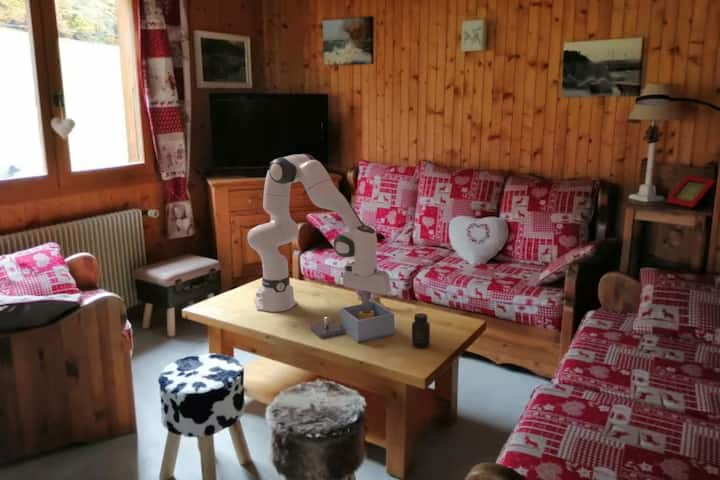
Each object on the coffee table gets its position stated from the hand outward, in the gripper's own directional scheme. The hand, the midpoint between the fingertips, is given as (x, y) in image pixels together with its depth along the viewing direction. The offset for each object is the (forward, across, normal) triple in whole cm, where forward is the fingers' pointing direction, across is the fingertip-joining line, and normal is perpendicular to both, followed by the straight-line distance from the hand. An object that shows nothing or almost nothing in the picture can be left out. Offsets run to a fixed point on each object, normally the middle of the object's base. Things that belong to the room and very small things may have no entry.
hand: (366, 301), depth 232 cm
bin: (+13, 0, 0) cm, 13 cm away
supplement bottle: (+13, -24, 0) cm, 28 cm away
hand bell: (+13, +12, -25) cm, 31 cm away
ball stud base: (+13, +14, +8) cm, 21 cm away
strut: (+10, 0, 0) cm, 10 cm away
